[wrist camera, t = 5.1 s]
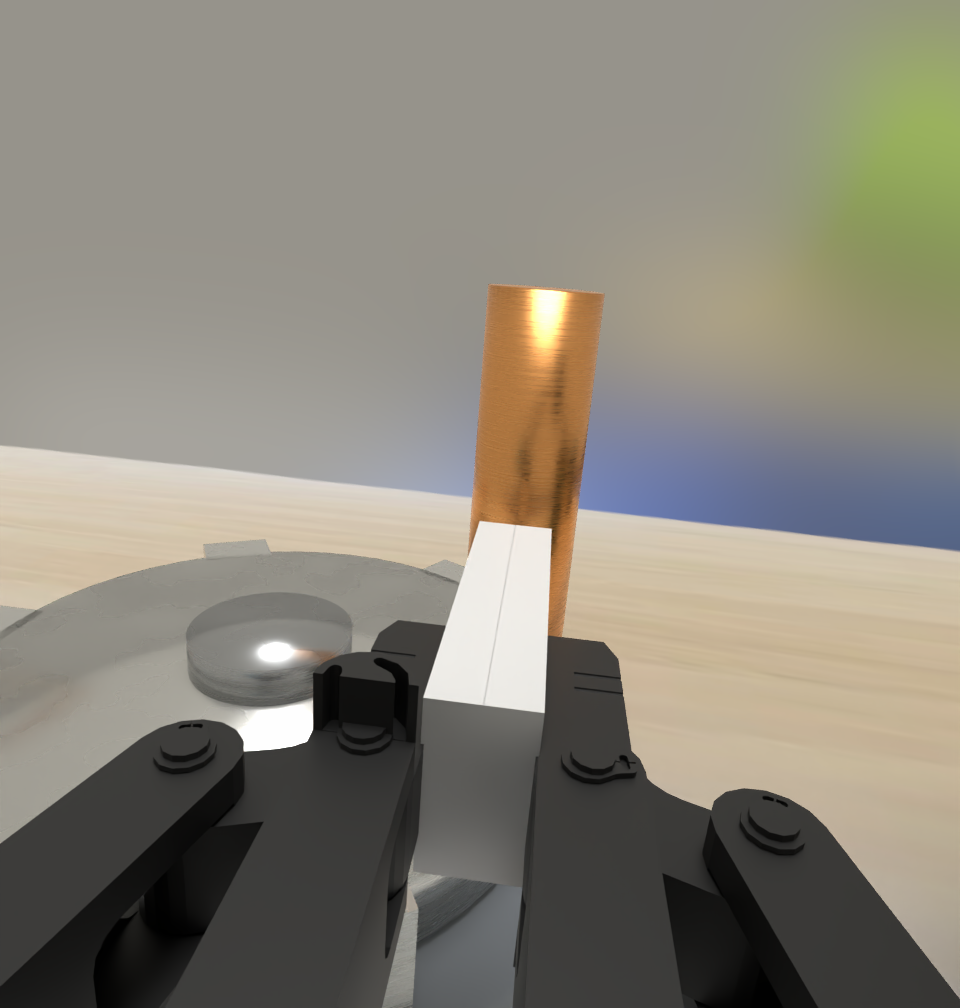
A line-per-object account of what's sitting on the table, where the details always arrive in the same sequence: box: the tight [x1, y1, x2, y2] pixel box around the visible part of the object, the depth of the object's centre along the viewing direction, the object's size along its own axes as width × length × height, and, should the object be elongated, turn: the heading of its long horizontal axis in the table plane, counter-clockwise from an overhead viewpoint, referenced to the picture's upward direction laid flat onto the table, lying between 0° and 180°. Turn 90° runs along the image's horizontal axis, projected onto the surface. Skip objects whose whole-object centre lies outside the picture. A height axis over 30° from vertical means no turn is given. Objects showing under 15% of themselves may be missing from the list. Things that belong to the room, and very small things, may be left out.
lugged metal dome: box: [0, 284, 604, 1008], centre depth 22 cm, size 21×19×15 cm
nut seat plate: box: [412, 884, 522, 1008], centre depth 25 cm, size 22×22×2 cm
